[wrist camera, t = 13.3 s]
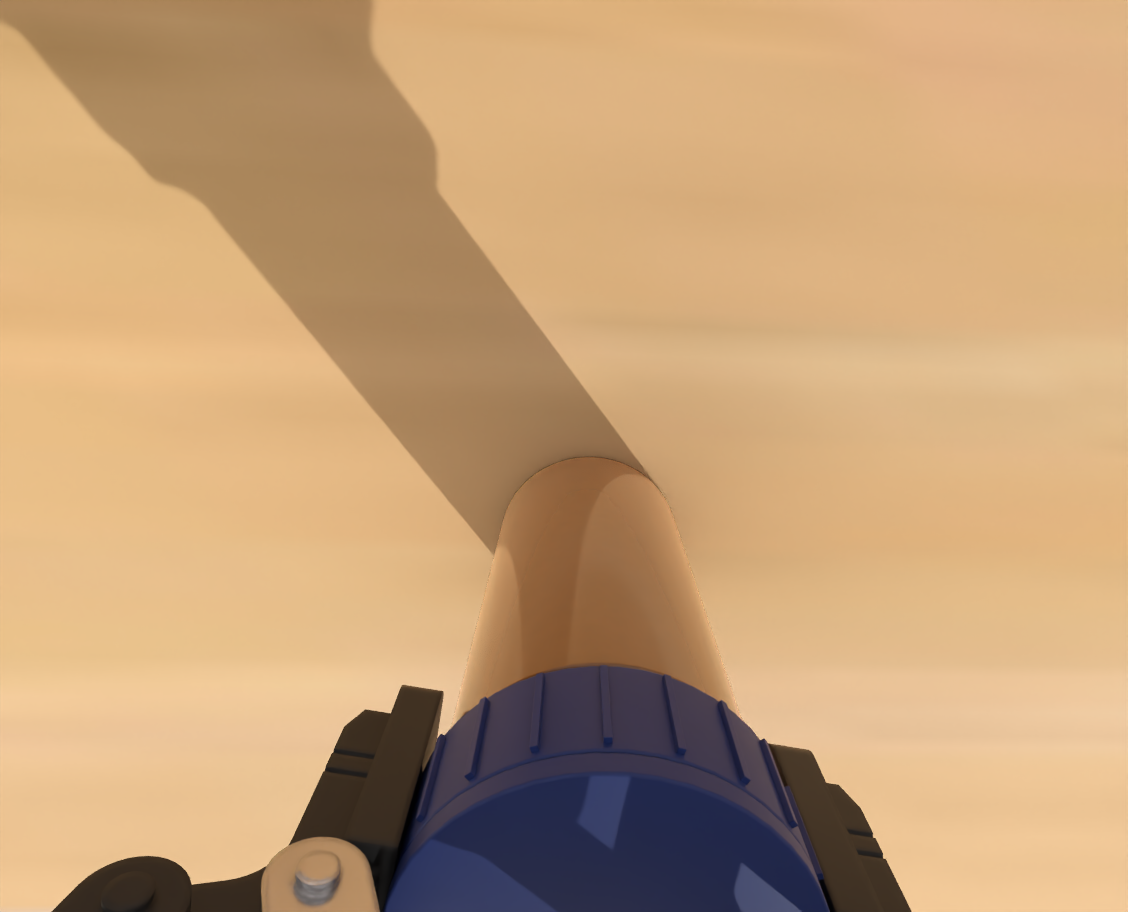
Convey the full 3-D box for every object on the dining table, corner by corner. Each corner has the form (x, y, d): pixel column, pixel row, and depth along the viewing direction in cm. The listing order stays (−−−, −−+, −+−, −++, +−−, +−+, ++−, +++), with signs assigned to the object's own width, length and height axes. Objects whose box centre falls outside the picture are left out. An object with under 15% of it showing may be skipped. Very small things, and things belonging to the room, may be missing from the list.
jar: (535, 431, 22) (480, 698, 9) (703, 491, 22) (865, 824, 10) (477, 586, 23) (364, 999, 11) (637, 640, 24) (705, 1096, 11)
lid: (671, 1020, 13) (690, 1184, 11) (352, 889, 12) (302, 1035, 10) (865, 762, 11) (934, 890, 9) (513, 596, 11) (497, 691, 9)
